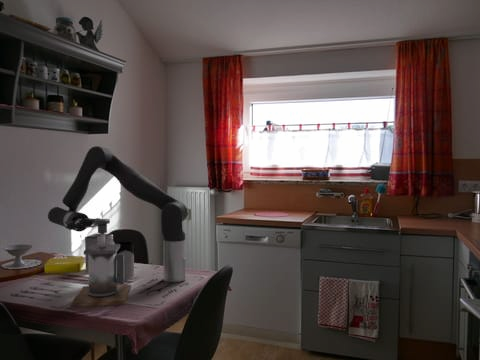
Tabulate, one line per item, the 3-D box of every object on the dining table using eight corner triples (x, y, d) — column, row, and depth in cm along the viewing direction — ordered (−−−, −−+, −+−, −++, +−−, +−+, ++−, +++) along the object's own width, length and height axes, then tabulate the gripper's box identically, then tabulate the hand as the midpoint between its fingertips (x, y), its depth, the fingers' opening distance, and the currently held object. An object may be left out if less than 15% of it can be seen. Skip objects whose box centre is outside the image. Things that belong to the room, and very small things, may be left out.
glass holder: (114, 281, 171) (114, 246, 170) (113, 272, 184) (112, 239, 183) (136, 279, 174) (135, 244, 173) (133, 270, 187) (132, 238, 186)
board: (130, 288, 162) (130, 284, 162) (124, 304, 144) (124, 300, 144) (83, 290, 159) (83, 286, 159) (71, 306, 142) (71, 302, 142)
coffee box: (96, 266, 194) (95, 233, 193) (108, 267, 193) (108, 233, 192) (85, 271, 185) (84, 236, 184) (97, 272, 184) (97, 237, 183)
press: (126, 287, 158) (125, 243, 157) (121, 297, 147) (121, 250, 146) (91, 288, 156) (90, 244, 155) (84, 298, 145) (83, 251, 145)
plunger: (111, 248, 154) (110, 218, 153) (108, 251, 149) (108, 220, 148) (96, 248, 153) (96, 219, 152) (93, 251, 148) (93, 221, 147)
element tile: (43, 275, 181) (43, 264, 180) (51, 266, 195) (50, 256, 195) (79, 273, 184) (79, 262, 184) (84, 264, 199) (83, 254, 199)
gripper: (58, 213, 163) (74, 218, 151) (92, 210, 173) (110, 214, 161) (58, 232, 163) (74, 238, 151) (92, 228, 173) (110, 233, 161)
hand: (93, 225), depth 156 cm, fingers open, 8 cm apart
